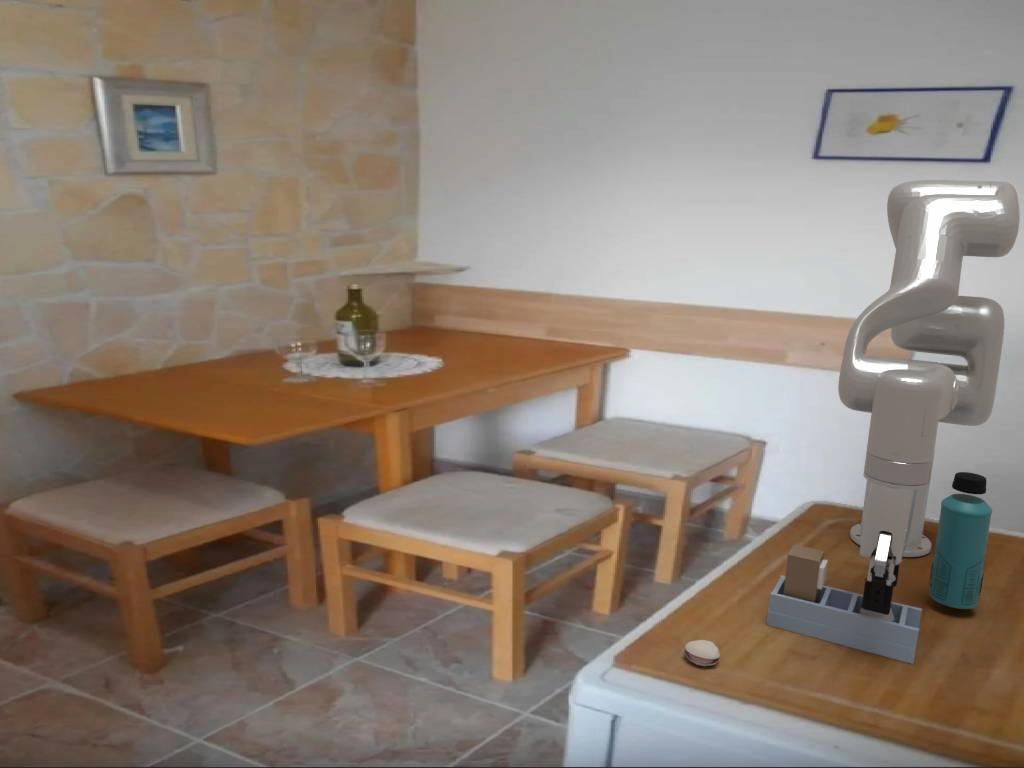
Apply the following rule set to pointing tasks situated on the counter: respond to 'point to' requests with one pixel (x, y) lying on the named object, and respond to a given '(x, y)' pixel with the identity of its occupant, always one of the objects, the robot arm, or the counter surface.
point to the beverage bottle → (961, 544)
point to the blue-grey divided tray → (837, 611)
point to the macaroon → (702, 652)
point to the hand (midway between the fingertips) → (879, 596)
